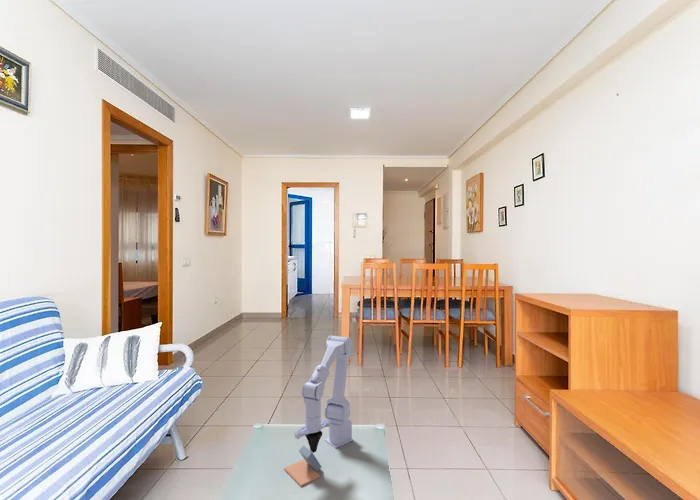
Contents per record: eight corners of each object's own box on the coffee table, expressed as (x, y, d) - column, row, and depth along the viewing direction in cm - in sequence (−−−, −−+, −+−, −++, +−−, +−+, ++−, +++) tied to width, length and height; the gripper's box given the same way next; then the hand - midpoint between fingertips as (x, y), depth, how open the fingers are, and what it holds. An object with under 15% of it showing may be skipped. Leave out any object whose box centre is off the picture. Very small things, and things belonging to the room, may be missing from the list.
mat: (302, 461, 138) (302, 459, 138) (320, 477, 128) (320, 475, 128) (284, 469, 133) (284, 468, 133) (300, 486, 124) (300, 485, 124)
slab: (312, 459, 137) (303, 445, 134) (321, 466, 132) (312, 452, 130) (308, 464, 136) (298, 450, 133) (316, 472, 131) (307, 458, 128)
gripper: (323, 405, 141) (323, 439, 141) (290, 416, 132) (290, 453, 132) (333, 411, 135) (333, 447, 136) (300, 424, 126) (300, 462, 127)
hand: (313, 450), depth 134 cm, fingers closed
